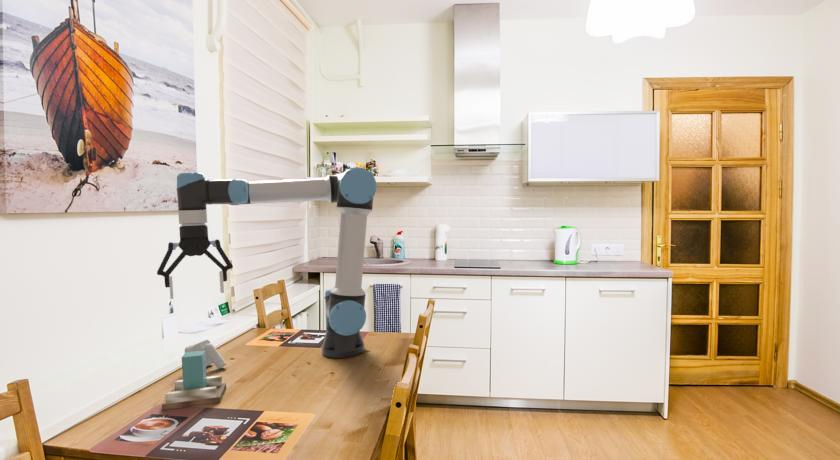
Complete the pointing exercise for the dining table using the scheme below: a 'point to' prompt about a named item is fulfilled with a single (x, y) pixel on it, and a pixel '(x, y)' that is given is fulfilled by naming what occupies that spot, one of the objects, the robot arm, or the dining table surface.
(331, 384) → the dining table surface
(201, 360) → the teal upright prism
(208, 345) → the wall hook
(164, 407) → the display stand
